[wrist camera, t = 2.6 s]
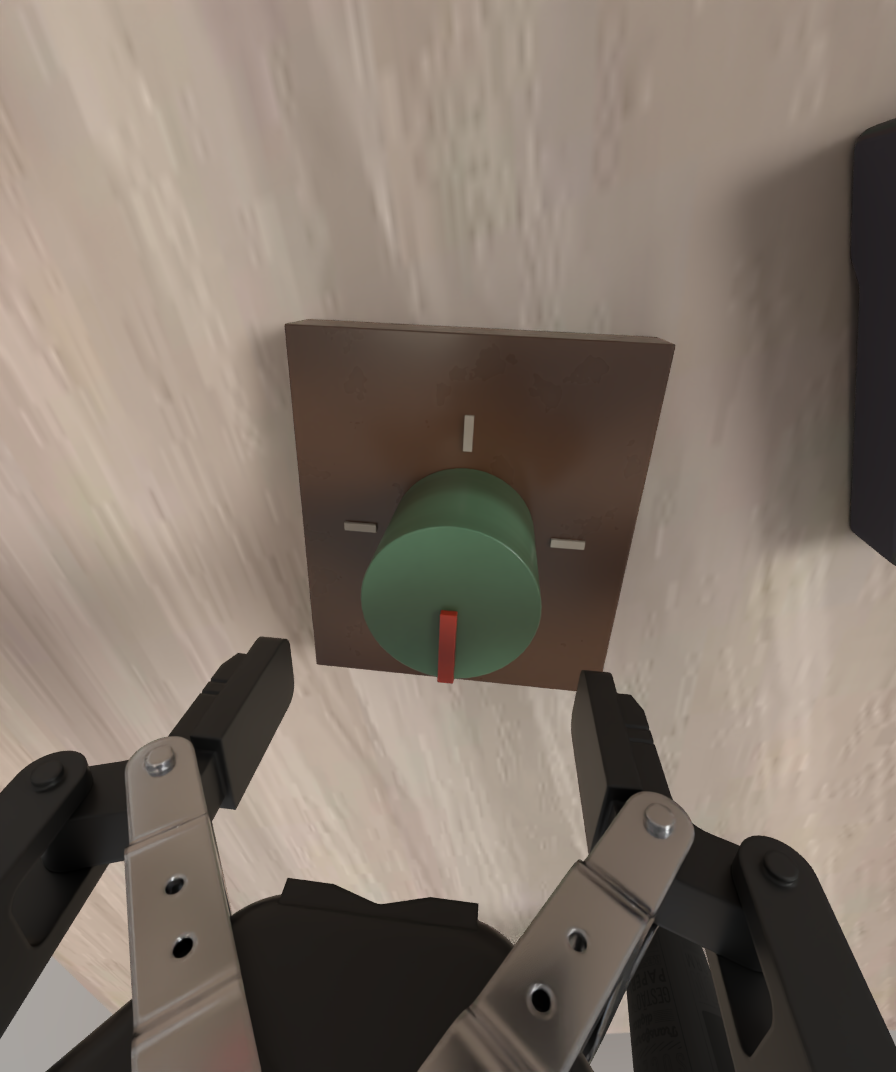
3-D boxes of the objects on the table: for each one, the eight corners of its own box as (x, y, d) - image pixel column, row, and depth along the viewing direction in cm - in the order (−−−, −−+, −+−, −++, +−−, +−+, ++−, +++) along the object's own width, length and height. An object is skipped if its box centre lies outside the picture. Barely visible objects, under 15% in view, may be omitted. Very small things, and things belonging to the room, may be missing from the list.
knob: (392, 462, 21) (353, 523, 16) (542, 473, 20) (554, 539, 15) (393, 588, 24) (361, 675, 18) (526, 600, 23) (531, 693, 18)
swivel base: (307, 318, 21) (282, 323, 19) (657, 336, 20) (677, 344, 18) (331, 634, 28) (315, 667, 26) (590, 660, 27) (598, 696, 25)
